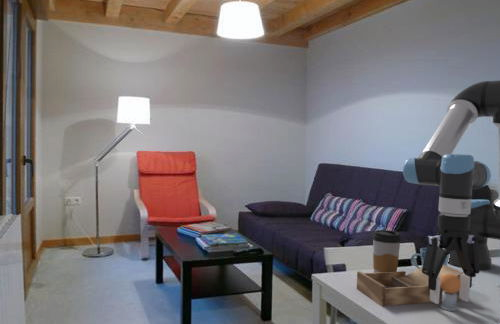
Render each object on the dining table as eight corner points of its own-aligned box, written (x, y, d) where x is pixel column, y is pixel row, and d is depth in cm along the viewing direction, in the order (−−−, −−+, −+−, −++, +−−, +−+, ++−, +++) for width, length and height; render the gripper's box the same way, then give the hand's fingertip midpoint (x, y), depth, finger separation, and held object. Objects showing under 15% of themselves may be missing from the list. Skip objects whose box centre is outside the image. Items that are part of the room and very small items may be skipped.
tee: (450, 304, 115) (450, 288, 115) (460, 310, 111) (461, 294, 111) (437, 305, 114) (437, 289, 114) (447, 311, 110) (448, 294, 110)
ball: (451, 289, 116) (452, 270, 116) (464, 295, 111) (465, 276, 111) (434, 290, 115) (436, 271, 114) (448, 296, 110) (449, 277, 109)
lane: (432, 284, 132) (434, 259, 132) (464, 299, 119) (465, 273, 119) (356, 288, 126) (357, 262, 125) (381, 305, 113) (382, 277, 113)
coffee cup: (395, 277, 137) (397, 230, 137) (401, 286, 129) (404, 236, 128) (368, 275, 138) (370, 229, 137) (373, 284, 130) (375, 234, 129)
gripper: (428, 217, 105) (423, 309, 107) (499, 216, 111) (494, 303, 112) (409, 212, 113) (404, 298, 114) (477, 211, 118) (472, 293, 119)
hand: (449, 300), depth 113 cm, fingers open, 8 cm apart
